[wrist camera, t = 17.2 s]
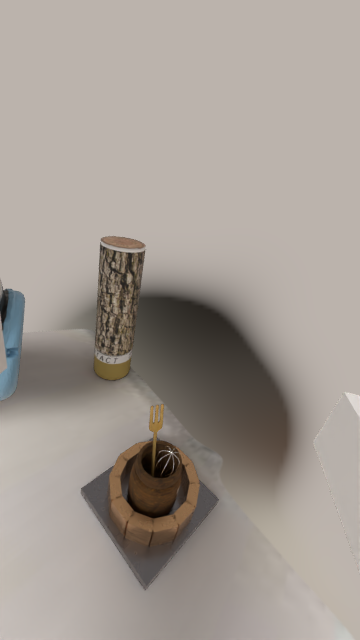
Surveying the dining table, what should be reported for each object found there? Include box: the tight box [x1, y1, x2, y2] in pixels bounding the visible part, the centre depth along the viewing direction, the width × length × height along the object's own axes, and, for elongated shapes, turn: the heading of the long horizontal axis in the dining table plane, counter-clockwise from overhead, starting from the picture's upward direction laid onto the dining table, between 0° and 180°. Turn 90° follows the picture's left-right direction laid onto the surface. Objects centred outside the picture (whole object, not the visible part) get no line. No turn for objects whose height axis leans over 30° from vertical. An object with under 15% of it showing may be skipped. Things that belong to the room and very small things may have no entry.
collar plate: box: [81, 438, 219, 590], centre depth 33 cm, size 12×12×4 cm
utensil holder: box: [128, 404, 182, 519], centre depth 31 cm, size 6×6×12 cm
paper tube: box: [94, 236, 145, 380], centre depth 48 cm, size 7×7×25 cm
